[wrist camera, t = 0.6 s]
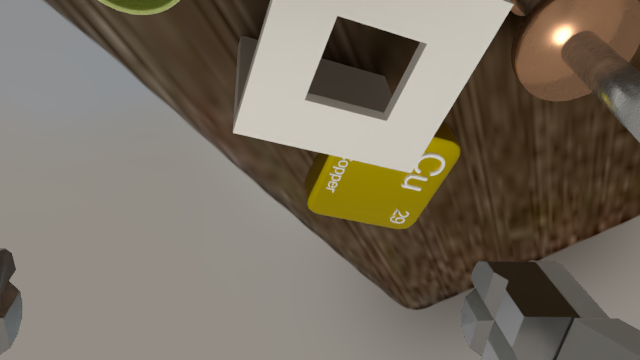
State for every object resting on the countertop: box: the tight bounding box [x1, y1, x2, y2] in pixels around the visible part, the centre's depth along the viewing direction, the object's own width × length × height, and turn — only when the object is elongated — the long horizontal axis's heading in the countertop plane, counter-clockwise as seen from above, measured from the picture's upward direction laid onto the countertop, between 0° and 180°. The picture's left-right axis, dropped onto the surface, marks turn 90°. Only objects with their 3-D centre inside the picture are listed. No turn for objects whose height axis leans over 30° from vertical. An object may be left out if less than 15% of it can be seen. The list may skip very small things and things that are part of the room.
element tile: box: [305, 123, 460, 229], centre depth 62 cm, size 15×15×5 cm
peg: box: [510, 0, 640, 142], centre depth 40 cm, size 10×10×26 cm
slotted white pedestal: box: [233, 0, 514, 173], centre depth 43 cm, size 16×16×15 cm
